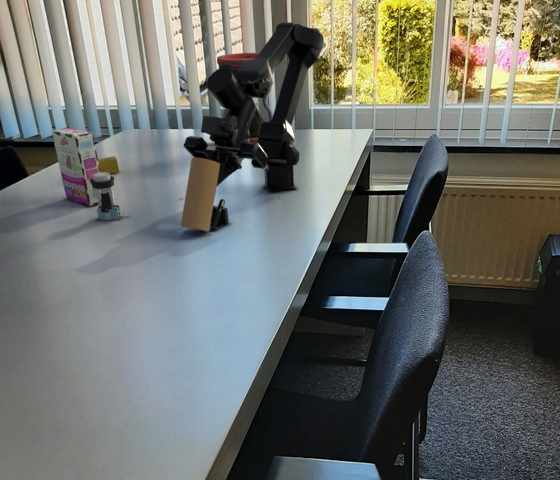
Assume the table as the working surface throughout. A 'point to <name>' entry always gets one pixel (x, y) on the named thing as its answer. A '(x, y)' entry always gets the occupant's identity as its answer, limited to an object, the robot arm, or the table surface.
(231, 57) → the hourglass
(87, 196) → the candy bar box
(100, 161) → the medication box
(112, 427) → the table surface
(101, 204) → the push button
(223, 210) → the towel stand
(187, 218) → the paper towel roll
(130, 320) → the table surface
